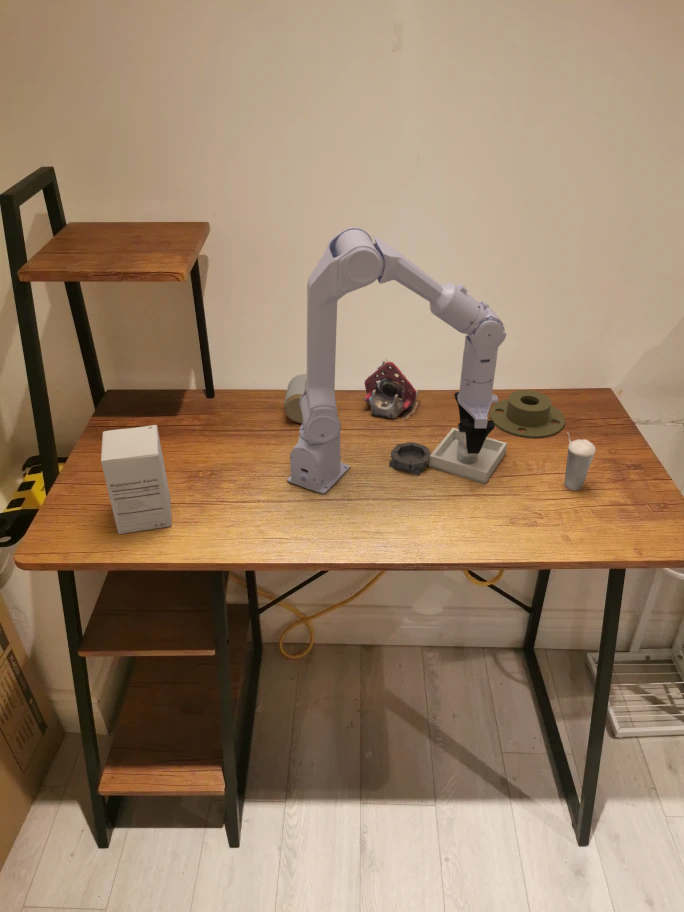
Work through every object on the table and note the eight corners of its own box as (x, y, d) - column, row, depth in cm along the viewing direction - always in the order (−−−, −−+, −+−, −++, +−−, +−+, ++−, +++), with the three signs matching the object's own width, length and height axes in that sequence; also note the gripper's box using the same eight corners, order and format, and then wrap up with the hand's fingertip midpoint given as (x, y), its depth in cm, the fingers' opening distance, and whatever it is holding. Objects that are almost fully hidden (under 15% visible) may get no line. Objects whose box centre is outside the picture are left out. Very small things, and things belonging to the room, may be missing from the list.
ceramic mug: (283, 424, 146) (281, 391, 142) (288, 404, 153) (287, 372, 148) (335, 427, 145) (335, 394, 141) (338, 407, 152) (339, 374, 148)
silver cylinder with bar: (457, 464, 133) (461, 431, 129) (453, 452, 137) (456, 419, 133) (481, 463, 134) (485, 430, 129) (476, 451, 137) (480, 418, 133)
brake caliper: (351, 408, 146) (366, 351, 147) (367, 416, 157) (380, 362, 157) (404, 420, 143) (419, 361, 143) (416, 427, 153) (430, 372, 153)
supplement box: (118, 502, 125) (101, 429, 117) (170, 495, 127) (158, 423, 119) (116, 535, 118) (99, 461, 110) (172, 527, 120) (159, 453, 111)
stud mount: (420, 477, 131) (420, 468, 130) (385, 466, 134) (385, 457, 133) (435, 458, 136) (436, 449, 135) (401, 448, 139) (402, 438, 138)
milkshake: (565, 473, 132) (575, 426, 126) (591, 485, 129) (602, 438, 123) (551, 483, 129) (561, 436, 124) (578, 496, 126) (589, 449, 121)
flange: (484, 411, 142) (562, 426, 137) (500, 377, 153) (572, 390, 149) (482, 431, 145) (558, 446, 140) (497, 396, 156) (568, 409, 151)
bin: (485, 484, 129) (486, 472, 128) (428, 466, 134) (429, 455, 132) (505, 453, 137) (507, 443, 136) (451, 438, 142) (452, 427, 140)
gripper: (508, 396, 119) (499, 463, 127) (493, 356, 131) (484, 419, 139) (466, 396, 119) (459, 463, 127) (454, 356, 131) (448, 420, 139)
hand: (470, 440), depth 133 cm, fingers open, 7 cm apart
